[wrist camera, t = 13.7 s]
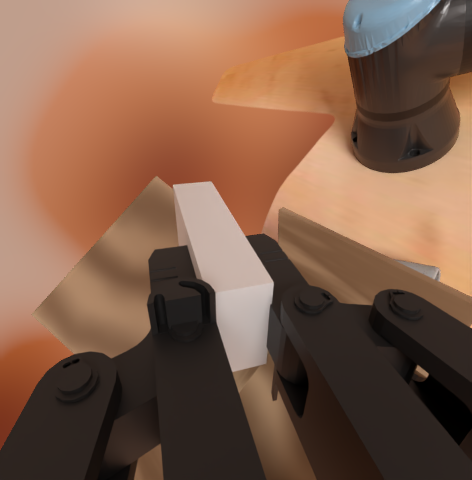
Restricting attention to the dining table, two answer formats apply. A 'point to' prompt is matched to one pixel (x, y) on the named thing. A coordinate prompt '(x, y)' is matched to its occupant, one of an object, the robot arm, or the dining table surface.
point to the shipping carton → (346, 291)
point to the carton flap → (113, 279)
